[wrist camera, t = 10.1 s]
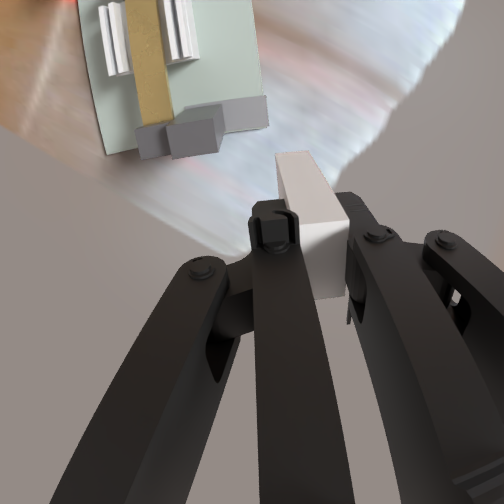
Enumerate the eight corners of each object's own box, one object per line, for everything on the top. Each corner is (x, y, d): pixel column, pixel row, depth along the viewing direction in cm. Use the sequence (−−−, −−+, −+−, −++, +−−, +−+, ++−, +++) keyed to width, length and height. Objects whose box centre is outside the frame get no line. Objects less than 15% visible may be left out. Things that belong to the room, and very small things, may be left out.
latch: (155, 115, 33) (127, 134, 25) (221, 103, 33) (212, 118, 25) (160, 139, 35) (135, 166, 27) (225, 129, 34) (218, 152, 26)
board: (80, -7, 24) (43, -16, 17) (246, -49, 23) (245, -76, 16) (109, 152, 37) (80, 176, 29) (268, 125, 35) (274, 143, 28)
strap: (121, -24, 21) (116, -27, 19) (159, -35, 20) (156, -39, 19) (145, 143, 30) (141, 145, 29) (183, 135, 30) (180, 138, 29)
